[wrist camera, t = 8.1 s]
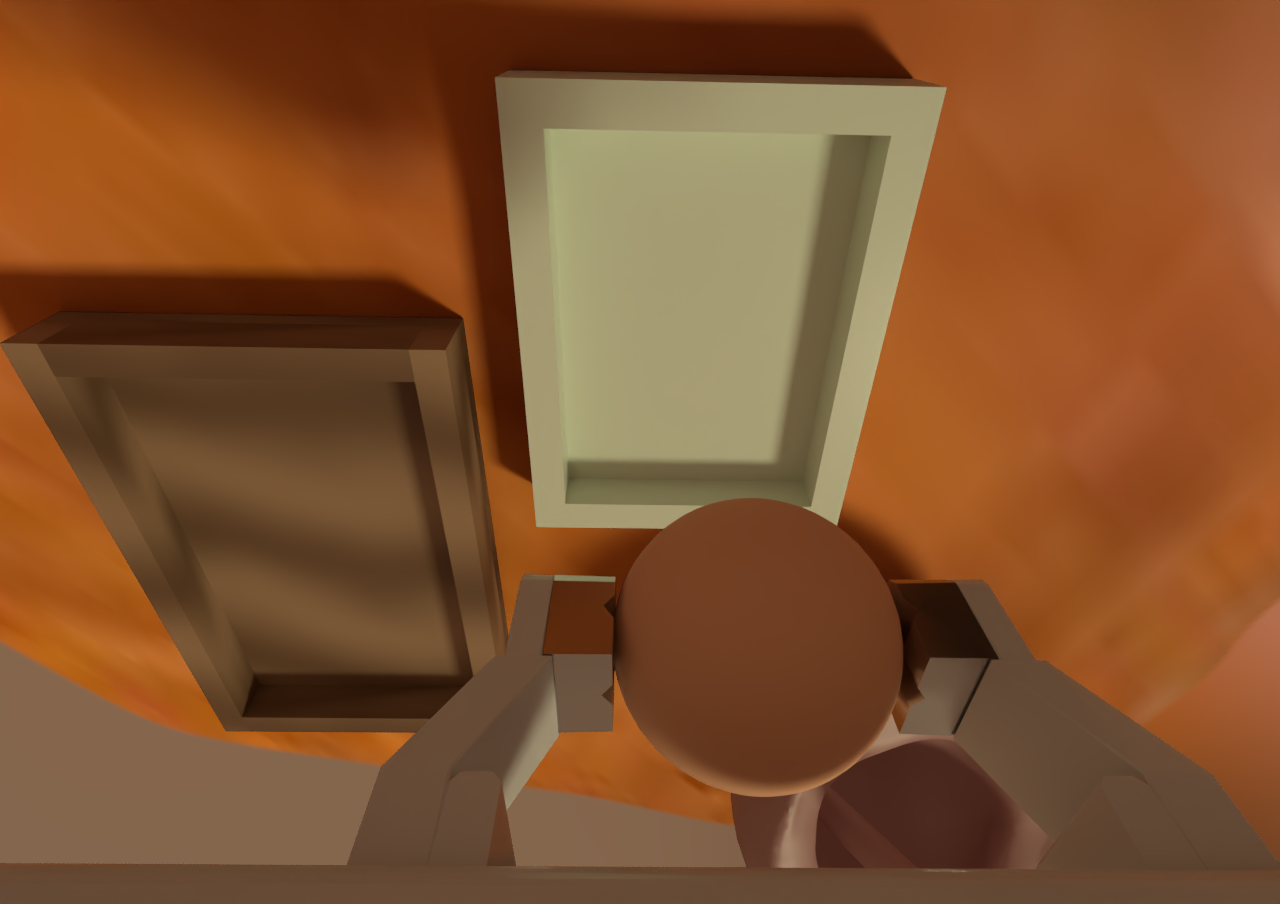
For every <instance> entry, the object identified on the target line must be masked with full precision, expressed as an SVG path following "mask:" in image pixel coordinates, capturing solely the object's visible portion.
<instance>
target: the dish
mask: <svg viewBox="0 0 1280 904" xmlns="http://www.w3.org/2000/svg"><path fill="white" fill-rule="evenodd" d="M0 345H1V347H2V349H3V350H4V352H5V354H6V355H7V357H8V359H9V361H10V362H11V364H12V366H13V367H14V369H15V371H16V373H17V374H18V376H19V378H20V379H21V381H22V383H23V385H24V386H25V388H26V390H27V391H28V393H29V395H30V397H31V398H32V400H33V402H34V403H35V405H36V407H37V409H38V410H39V412H40V414H41V415H42V417H43V419H44V421H45V422H46V424H47V426H48V427H49V429H50V431H51V433H52V434H53V436H54V438H55V439H56V441H57V443H58V445H59V446H60V448H61V450H62V451H63V453H64V455H65V457H66V458H67V460H68V462H69V463H70V465H71V467H72V469H73V470H74V472H75V474H76V475H77V477H78V479H79V480H80V482H81V484H82V486H83V487H84V489H85V491H86V492H87V494H88V496H89V498H90V499H91V501H92V503H93V504H94V506H95V508H96V510H97V511H98V513H99V515H100V516H101V518H102V520H103V522H104V523H105V525H106V527H107V528H108V530H109V532H110V534H111V535H112V537H113V539H114V540H115V542H116V544H117V546H118V547H119V549H120V551H121V552H122V554H123V556H124V558H125V559H126V561H127V563H128V564H129V566H130V568H131V570H132V571H133V573H134V575H135V576H136V578H137V580H138V582H139V583H140V585H141V587H142V588H143V590H144V592H145V594H146V595H147V597H148V599H149V600H150V602H151V604H152V606H153V607H154V609H155V611H156V612H157V614H158V616H159V618H160V619H161V621H162V623H163V624H164V626H165V628H166V629H167V631H168V633H169V635H170V636H171V638H172V640H173V641H174V643H175V645H176V647H177V648H178V650H179V652H180V653H181V655H182V657H183V659H184V660H185V662H186V664H187V665H188V667H189V669H190V671H191V672H192V674H193V676H194V677H195V679H196V681H197V683H198V684H199V686H200V688H201V689H202V691H203V693H204V695H205V696H206V698H207V700H208V701H209V703H210V705H211V707H212V708H213V710H214V712H215V713H216V715H217V717H218V719H219V720H220V722H221V724H222V725H223V727H224V729H225V731H263V732H412V733H416V732H417V731H418V730H419V729H420V728H421V727H422V726H423V725H424V724H425V723H427V722H428V721H429V720H430V719H431V718H432V717H433V716H434V715H435V714H436V713H437V712H438V711H439V710H440V709H441V708H442V707H443V706H444V705H445V704H446V703H447V702H448V701H449V700H450V699H451V698H452V697H453V696H454V695H455V694H456V693H457V692H458V691H459V690H460V689H461V688H462V687H463V686H464V685H465V684H466V683H467V682H469V681H470V680H471V679H472V678H473V677H474V676H475V675H476V674H477V673H478V672H479V671H480V670H481V669H482V668H483V667H484V666H485V665H486V664H487V663H488V662H489V661H490V660H491V659H492V658H493V657H494V656H495V655H505V652H506V647H507V643H508V638H509V637H508V630H507V623H506V616H505V609H504V602H503V595H502V588H501V581H500V574H499V567H498V560H497V553H496V546H495V539H494V532H493V525H492V518H491V511H490V504H489V497H488V490H487V483H486V476H485V469H484V462H483V455H482V448H481V441H480V434H479V427H478V420H477V413H476V406H475V399H474V392H473V385H472V378H471V371H470V364H469V357H468V350H467V343H466V336H465V329H464V322H463V318H412V317H350V316H289V315H227V314H166V313H104V312H58V313H56V314H54V315H52V316H50V317H48V318H46V319H44V320H42V321H41V322H39V323H37V324H35V325H33V326H31V327H29V328H27V329H25V330H24V331H22V332H20V333H18V334H16V335H14V336H12V337H10V338H8V339H7V340H5V341H3V342H1V343H0Z"/></svg>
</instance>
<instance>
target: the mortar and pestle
mask: <svg viewBox="0 0 1280 904" xmlns="http://www.w3.org/2000/svg"><path fill="white" fill-rule="evenodd" d="M953 738H954V736H944V735H916V734H899V731H898V729H897V726H896V723H895V721H894V718H893V715H892V713H891V716H890V718H889V720H888V722H887V724H886V726H885V727H884V729H883V731H882V732H881V734H880V735H879V737H878V739H877V740H876V741H875V743H874V744H873V745H872V747H871V748H870V749H869V750H868V751H867V752H866V753H865V754H864V755H863V756H862V757H861V758H860V759H859V760H858V761H857V762H856V763H855V764H854V765H853V766H852V767H850V768H849V769H848V770H846V771H845V772H843V773H842V774H840V775H839V776H837V777H835V778H834V779H832V780H830V781H828V782H826V783H824V784H823V785H820V786H818V787H815V788H813V789H810V790H807V791H804V792H800V793H795V794H790V795H784V796H774V797H754V796H745V795H739V794H734V793H731V804H732V812H733V819H734V825H735V830H736V835H737V840H738V843H739V846H740V849H741V852H742V855H743V858H744V861H745V864H746V867H755V868H950V869H1036V868H1037V866H1038V864H1039V863H1040V861H1041V860H1042V859H1043V857H1044V856H1045V855H1046V853H1047V852H1048V850H1049V849H1050V848H1051V846H1052V845H1053V844H1054V841H1053V840H1052V839H1051V838H1050V837H1049V836H1048V835H1047V834H1046V833H1045V832H1044V831H1043V830H1042V829H1041V828H1040V827H1039V826H1038V825H1037V824H1036V823H1035V822H1034V821H1033V820H1032V819H1031V818H1030V817H1029V816H1028V815H1027V814H1026V813H1025V811H1024V810H1023V809H1022V808H1021V807H1020V806H1019V805H1018V804H1017V803H1016V802H1015V801H1014V800H1013V799H1012V798H1011V797H1010V796H1009V795H1008V794H1007V793H1006V792H1005V791H1004V790H1003V789H1002V788H1001V787H1000V786H999V785H998V784H997V783H996V782H995V781H994V780H993V779H992V778H991V777H990V776H989V775H988V774H987V773H986V772H985V771H984V770H983V769H982V768H981V767H980V766H979V764H978V763H977V762H976V761H975V760H974V759H973V758H972V757H971V756H970V755H969V754H968V753H967V752H966V751H965V750H964V749H963V748H962V747H961V746H960V745H959V744H958V743H957V742H956V741H955V740H954V739H953Z"/></svg>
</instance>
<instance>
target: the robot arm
mask: <svg viewBox="0 0 1280 904" xmlns="http://www.w3.org/2000/svg"><path fill="white" fill-rule="evenodd" d="M886 584H887V586H888V588H889V590H890V592H891V595H892V598H893V601H894V604H895V606H896V609H897V612H898V615H899V619H900V625H901V632H902V638H903V673H902V679H901V684H900V690H899V693H898V697H897V700H896V703H895V706H894V708H893V711H892V715H893V718H894V721H895V723H896V726H897V729H898V731H899V734H916V735H944V736H954V738H953V739H954V740H955V741H956V742H957V743H958V744H959V745H960V746H961V747H962V748H963V749H964V750H965V751H966V752H967V753H968V754H969V755H970V756H971V757H972V758H973V759H974V760H975V761H976V762H977V763H978V764H979V766H980V767H981V768H982V769H983V770H984V771H985V772H986V773H987V774H988V775H989V776H990V777H991V778H992V779H993V780H994V781H995V782H996V783H997V784H998V785H999V786H1000V787H1001V788H1002V789H1003V790H1004V791H1005V792H1006V793H1007V794H1008V795H1009V796H1010V797H1011V798H1012V799H1013V800H1014V801H1015V802H1016V803H1017V804H1018V805H1019V806H1020V807H1021V808H1022V809H1023V810H1024V811H1025V813H1026V814H1027V815H1028V816H1029V817H1030V818H1031V819H1032V820H1033V821H1034V822H1035V823H1036V824H1037V825H1038V826H1039V827H1040V828H1041V829H1042V830H1043V831H1044V832H1045V833H1046V834H1047V835H1048V836H1049V837H1050V838H1051V839H1052V840H1053V841H1054V844H1053V845H1052V846H1051V848H1050V849H1049V850H1048V852H1047V853H1046V855H1045V856H1044V857H1043V859H1042V860H1041V861H1040V863H1039V864H1038V866H1037V868H1036V869H950V868H755V867H742V868H741V867H561V866H560V867H559V866H558V867H557V866H554V867H553V866H516V862H515V857H514V851H513V845H512V839H511V834H510V828H509V822H508V817H507V811H506V810H507V809H508V807H509V806H510V805H511V803H512V802H513V800H514V799H515V797H516V796H517V795H518V793H519V792H520V790H521V789H522V788H523V786H524V785H525V783H526V782H527V780H528V779H529V778H530V776H531V775H532V773H533V772H534V770H535V769H536V768H537V766H538V765H539V763H540V762H541V760H542V759H543V758H544V756H545V755H546V753H547V752H548V750H549V749H550V748H551V746H552V745H553V743H554V742H555V740H556V739H557V738H558V736H559V734H558V732H608V731H613V707H614V671H615V665H614V620H615V609H616V577H605V576H578V575H532V574H524V576H523V577H522V579H521V581H520V585H519V590H518V595H517V600H516V605H515V609H514V614H513V619H512V624H511V628H510V633H509V638H508V643H507V647H506V652H505V655H495V656H494V657H493V658H492V659H491V660H490V661H489V662H488V663H487V664H486V665H485V666H484V667H483V668H482V669H481V670H480V671H479V672H478V673H477V674H476V675H475V676H474V677H473V678H472V679H471V680H470V681H469V682H467V683H466V684H465V685H464V686H463V687H462V688H461V689H460V690H459V691H458V692H457V693H456V694H455V695H454V696H453V697H452V698H451V699H450V700H449V701H448V702H447V703H446V704H445V705H444V706H443V707H442V708H441V709H440V710H439V711H438V712H437V713H436V714H435V715H434V716H433V717H432V718H431V719H430V720H429V721H428V722H427V723H425V724H424V725H423V726H422V727H421V728H420V729H419V730H418V731H417V732H416V733H415V734H414V735H413V736H412V737H411V738H410V739H409V740H408V741H407V742H406V743H405V744H404V745H403V746H402V747H401V748H400V749H399V750H398V751H397V752H396V753H395V754H394V755H393V756H392V757H391V758H390V759H389V760H388V761H387V762H386V763H385V764H383V765H382V766H381V768H380V771H379V774H378V777H377V780H376V782H375V785H374V788H373V791H372V794H371V797H370V799H369V802H368V805H367V808H366V811H365V814H364V817H363V820H362V822H361V826H360V828H359V831H358V834H357V837H356V840H355V843H354V845H353V848H352V851H351V854H350V857H349V860H348V863H347V865H219V864H215V865H213V864H65V863H63V864H61V863H57V864H56V863H49V864H48V863H0V904H1280V863H1279V862H1278V860H1277V859H1276V858H1275V856H1274V855H1273V854H1272V852H1271V851H1270V850H1269V848H1268V847H1267V846H1266V844H1265V843H1264V842H1263V840H1262V839H1261V838H1260V836H1259V835H1258V834H1257V833H1256V831H1255V830H1254V829H1253V828H1252V826H1251V825H1250V823H1249V822H1248V821H1247V819H1246V818H1245V817H1244V815H1243V814H1242V813H1241V812H1240V810H1239V809H1238V808H1237V806H1236V805H1235V804H1234V802H1233V801H1232V800H1231V798H1230V797H1229V796H1228V794H1227V793H1226V792H1225V790H1224V789H1223V788H1222V786H1221V785H1220V784H1219V783H1218V781H1217V780H1216V779H1215V777H1214V776H1213V775H1212V774H1211V773H1209V772H1208V771H1206V770H1205V769H1203V768H1202V767H1200V766H1199V765H1198V764H1196V763H1195V762H1193V761H1192V760H1190V759H1189V758H1187V757H1186V756H1184V755H1183V754H1181V753H1180V752H1178V751H1177V750H1176V749H1174V748H1172V747H1171V746H1170V745H1168V744H1167V743H1165V742H1164V741H1162V740H1161V739H1160V738H1158V737H1157V736H1155V735H1154V734H1152V733H1151V732H1149V731H1148V730H1146V729H1145V728H1143V727H1142V726H1141V725H1139V724H1138V723H1136V722H1135V721H1133V720H1132V719H1130V718H1129V717H1127V716H1126V715H1124V714H1123V713H1121V712H1120V711H1119V710H1117V709H1116V708H1114V707H1113V706H1111V705H1110V704H1108V703H1107V702H1105V701H1104V700H1102V699H1101V698H1100V697H1098V696H1097V695H1095V694H1094V693H1092V692H1091V691H1089V690H1088V689H1086V688H1085V687H1083V686H1082V685H1081V684H1079V683H1078V682H1076V681H1075V680H1073V679H1072V678H1070V677H1069V676H1067V675H1066V674H1064V673H1063V672H1061V671H1060V670H1059V669H1057V668H1056V667H1054V666H1053V665H1051V664H1050V663H1048V662H1047V661H1040V660H1036V659H1035V658H1034V656H1033V655H1032V653H1031V652H1030V650H1029V648H1028V647H1027V645H1026V644H1025V642H1024V640H1023V639H1022V637H1021V636H1020V634H1019V633H1018V631H1017V629H1016V628H1015V626H1014V625H1013V623H1012V621H1011V620H1010V618H1009V617H1008V615H1007V614H1006V612H1005V610H1004V609H1003V607H1002V606H1001V604H1000V602H999V601H998V599H997V598H996V596H995V595H994V593H993V591H992V590H991V588H990V587H989V585H988V584H987V583H985V582H984V581H983V580H949V581H948V580H888V581H887V582H886Z"/></svg>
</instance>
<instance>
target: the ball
mask: <svg viewBox="0 0 1280 904" xmlns="http://www.w3.org/2000/svg"><path fill="white" fill-rule="evenodd" d="M614 665H615V670H616V675H617V680H618V683H619V686H620V689H621V692H622V695H623V697H624V700H625V703H626V705H627V707H628V709H629V711H630V713H631V714H632V716H633V718H634V720H635V721H636V723H637V725H638V727H639V728H640V730H641V731H642V732H643V734H644V735H645V736H646V737H647V739H648V740H649V741H650V742H651V743H652V745H653V746H654V747H655V748H656V749H657V750H658V751H659V752H660V753H661V754H662V755H663V756H664V757H665V758H666V759H668V760H669V761H670V762H671V763H672V764H673V765H675V766H676V767H677V768H679V769H680V770H682V771H683V772H684V773H686V774H688V775H690V776H691V777H693V778H695V779H697V780H699V781H700V782H702V783H704V784H707V785H709V786H712V787H714V788H717V789H721V790H724V791H727V792H731V793H734V794H739V795H745V796H754V797H774V796H784V795H790V794H795V793H800V792H804V791H807V790H810V789H813V788H815V787H818V786H820V785H823V784H824V783H826V782H828V781H830V780H832V779H834V778H835V777H837V776H839V775H840V774H842V773H843V772H845V771H846V770H848V769H849V768H850V767H852V766H853V765H854V764H855V763H856V762H857V761H858V760H859V759H860V758H861V757H862V756H863V755H864V754H865V753H866V752H867V751H868V750H869V749H870V748H871V747H872V745H873V744H874V743H875V741H876V740H877V739H878V737H879V735H880V734H881V732H882V731H883V729H884V727H885V726H886V724H887V722H888V720H889V718H890V716H891V713H892V711H893V708H894V706H895V703H896V700H897V697H898V693H899V690H900V684H901V679H902V673H903V638H902V632H901V625H900V619H899V615H898V612H897V609H896V606H895V604H894V601H893V598H892V595H891V592H890V590H889V588H888V586H887V584H886V582H885V580H884V579H883V577H882V575H881V573H880V572H879V570H878V568H877V567H876V565H875V564H874V562H873V561H872V560H871V559H870V557H869V556H868V555H867V554H866V552H865V551H864V550H863V549H862V548H861V547H860V546H859V544H858V543H857V542H856V541H854V540H853V539H852V538H851V537H850V536H849V535H848V534H846V533H845V532H844V531H843V530H841V529H840V528H839V527H838V526H837V525H835V524H833V523H832V522H830V521H828V520H827V519H825V518H823V517H822V516H820V515H818V514H816V513H814V512H812V511H810V510H807V509H805V508H803V507H800V506H797V505H793V504H790V503H786V502H782V501H777V500H771V499H764V498H737V499H730V500H723V501H719V502H715V503H711V504H708V505H705V506H703V507H700V508H697V509H695V510H693V511H691V512H689V513H687V514H685V515H683V516H682V517H680V518H679V519H677V520H675V521H674V522H672V523H671V524H669V525H668V526H667V527H666V528H664V529H663V530H662V531H661V532H659V533H658V534H657V535H656V536H655V537H654V538H653V539H652V540H651V541H650V543H649V544H648V545H647V546H646V547H645V548H644V550H643V551H642V552H641V553H640V555H639V556H638V558H637V559H636V560H635V562H634V564H633V565H632V567H631V569H630V571H629V573H628V575H627V577H626V579H625V581H624V583H623V585H622V589H621V592H620V595H619V599H618V602H617V606H616V609H615V620H614Z"/></svg>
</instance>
